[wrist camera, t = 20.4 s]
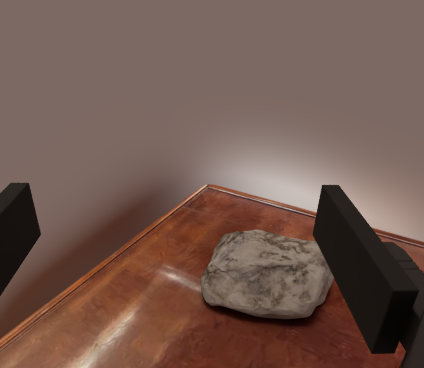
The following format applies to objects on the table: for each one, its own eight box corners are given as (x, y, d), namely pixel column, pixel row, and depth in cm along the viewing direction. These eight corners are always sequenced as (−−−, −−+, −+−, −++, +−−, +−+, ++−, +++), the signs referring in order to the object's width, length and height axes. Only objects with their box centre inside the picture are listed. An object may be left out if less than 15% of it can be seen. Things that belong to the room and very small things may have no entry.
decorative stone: (334, 268, 58) (335, 223, 52) (331, 346, 48) (332, 302, 42) (221, 256, 64) (210, 215, 59) (198, 322, 54) (183, 282, 49)
